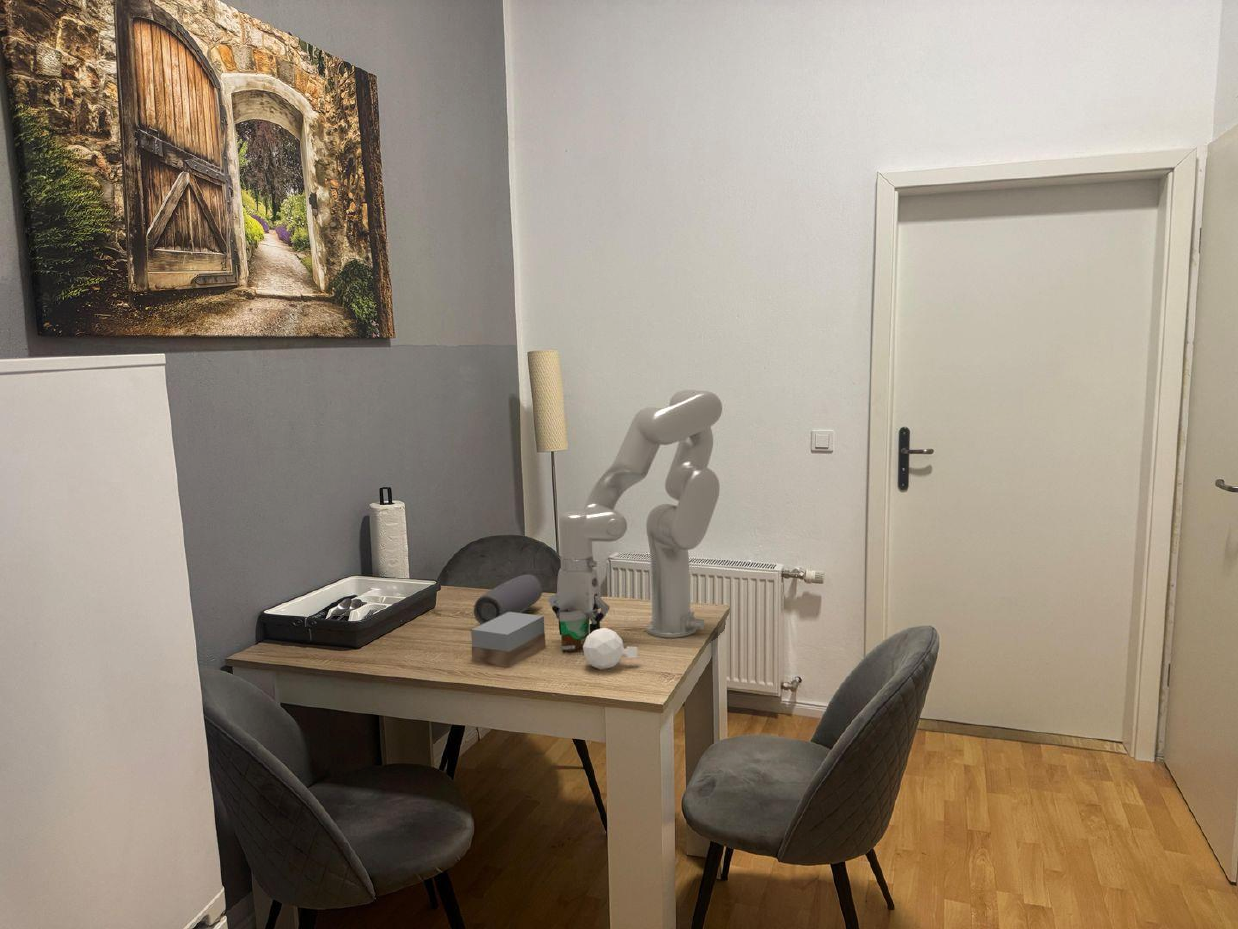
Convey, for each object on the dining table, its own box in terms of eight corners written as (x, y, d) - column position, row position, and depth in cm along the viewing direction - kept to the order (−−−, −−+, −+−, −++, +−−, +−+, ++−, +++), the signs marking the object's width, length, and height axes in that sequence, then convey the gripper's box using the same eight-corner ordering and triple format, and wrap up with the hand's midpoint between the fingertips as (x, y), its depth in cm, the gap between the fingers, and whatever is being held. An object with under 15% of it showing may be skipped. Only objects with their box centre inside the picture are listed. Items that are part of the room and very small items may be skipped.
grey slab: (544, 632, 204) (543, 616, 203) (508, 652, 191) (507, 634, 190) (509, 627, 208) (508, 611, 208) (472, 646, 195) (471, 629, 195)
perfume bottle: (580, 669, 184) (636, 673, 184) (584, 625, 185) (639, 630, 186) (580, 667, 192) (634, 671, 193) (584, 625, 194) (637, 630, 194)
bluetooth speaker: (514, 606, 239) (513, 571, 238) (544, 608, 236) (543, 573, 235) (472, 631, 218) (470, 592, 217) (504, 634, 215) (502, 595, 214)
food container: (586, 655, 197) (585, 613, 196) (560, 654, 198) (559, 612, 197) (598, 638, 209) (597, 598, 208) (574, 637, 210) (572, 598, 209)
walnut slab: (545, 649, 204) (544, 633, 203) (507, 670, 191) (506, 652, 190) (511, 643, 209) (510, 628, 208) (472, 664, 196) (471, 647, 195)
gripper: (616, 564, 200) (619, 636, 202) (555, 557, 209) (558, 626, 211) (599, 571, 194) (602, 646, 196) (537, 563, 203) (540, 635, 205)
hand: (579, 635), depth 203 cm, fingers open, 8 cm apart
